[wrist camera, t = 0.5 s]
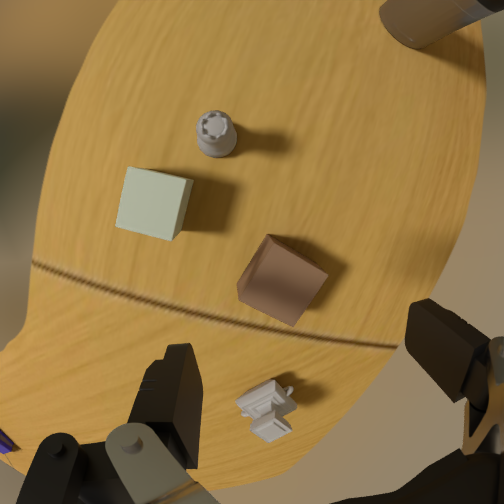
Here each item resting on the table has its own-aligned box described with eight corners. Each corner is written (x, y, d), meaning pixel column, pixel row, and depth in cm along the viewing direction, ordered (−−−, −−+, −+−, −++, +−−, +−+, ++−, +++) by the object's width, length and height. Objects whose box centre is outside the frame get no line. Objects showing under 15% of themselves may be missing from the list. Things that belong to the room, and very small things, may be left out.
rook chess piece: (240, 153, 30) (245, 144, 23) (201, 162, 30) (193, 155, 22) (232, 117, 29) (235, 96, 21) (194, 125, 29) (183, 107, 21)
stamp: (252, 415, 40) (257, 454, 32) (227, 393, 38) (229, 434, 30) (300, 389, 39) (314, 428, 31) (278, 365, 38) (290, 405, 29)
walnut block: (267, 233, 33) (274, 242, 28) (315, 262, 34) (328, 275, 29) (236, 283, 34) (238, 300, 29) (284, 308, 35) (293, 327, 30)
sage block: (145, 168, 30) (128, 166, 24) (193, 180, 31) (186, 179, 25) (134, 218, 31) (115, 226, 25) (181, 230, 32) (171, 241, 26)
